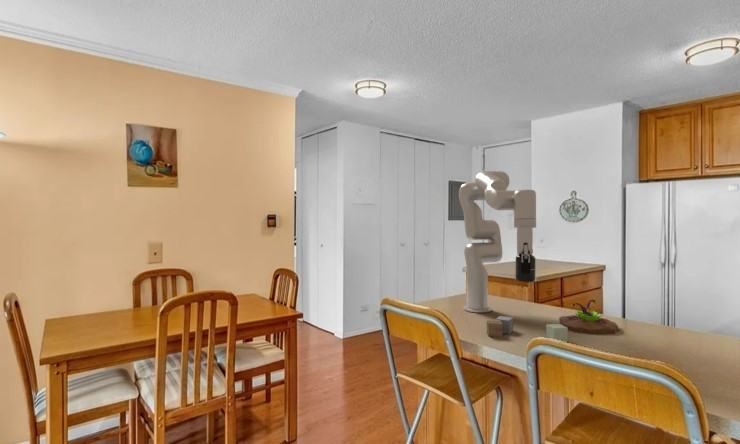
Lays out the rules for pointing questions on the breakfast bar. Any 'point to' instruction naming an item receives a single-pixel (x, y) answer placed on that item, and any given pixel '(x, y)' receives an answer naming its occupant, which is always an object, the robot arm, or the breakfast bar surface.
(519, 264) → the supplement bottle
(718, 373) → the breakfast bar surface
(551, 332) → the sage cube
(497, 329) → the walnut cube
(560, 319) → the plant
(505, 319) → the slate cube
